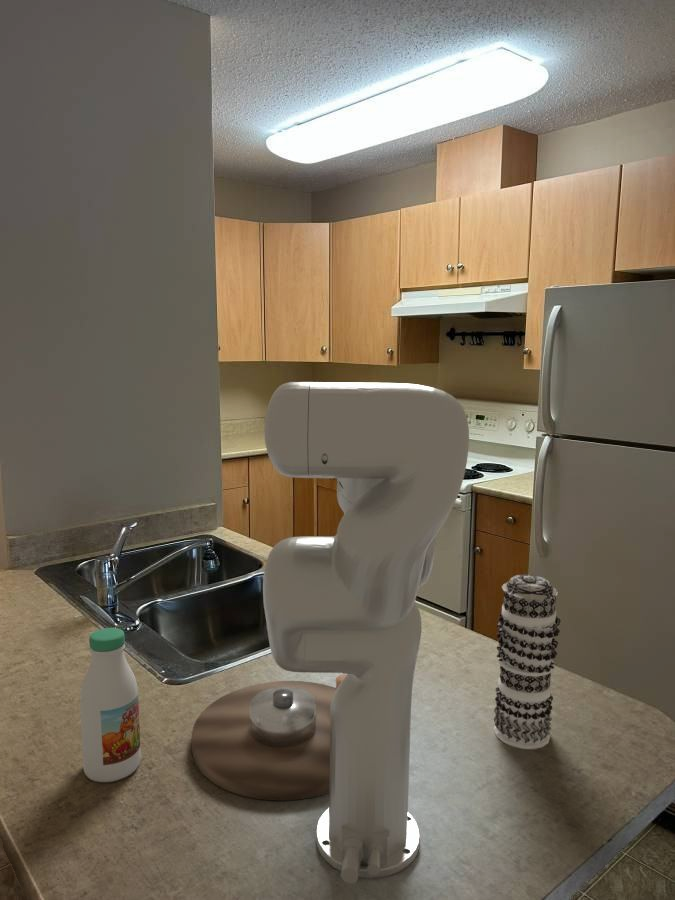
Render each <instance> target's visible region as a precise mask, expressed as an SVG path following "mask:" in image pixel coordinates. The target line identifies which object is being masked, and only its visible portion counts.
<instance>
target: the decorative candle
mask: <svg viewBox="0 0 675 900" xmlns="http://www.w3.org/2000/svg"><path fill="white" fill-rule="evenodd" d="M501 588H502V590H503V604H502V605H501V614H499V615H498V616H497V620H498V623H497V624H496V629H498V632H497V633H496V637H497V641H498V645H497V646H496V650H497V651H498V653H497V655H496V657H497V662H498V664H499V672H500V674H499V676H498V677H497V678H498V679H497V680H498V681H497V687H495V693H496V696H495V697H494V699H495V706H494V709H493V711H494V716H493V722H494V726H493V731H494V734H495V736H496V737H497V738H498V739H499V741H501V742H503V743H504V744H506V745H509V746H510V747H513V748H516V749H517V748H518V749H521V750H537V749H540V748H541V749H542V748H544V747H545V746H546V745H548V744H549V742H550V737H551V735H550V734H551V732H550V731H551V730H552V726H551V721H553V719H552V718H553V717H552V716H550V715H551V714H552V710H553V706H552V703H553V702H552V701H554V697H553V695H552V681H551V680H552V678H551V677H552V672H553V671H554V669H555V662H554V661H553V659H556V658H557V656H558V652H557V651H556V649H557V648H558V645H559V642H558V641H557V640H556V639H555V637H557V636H559V634H560V629H559V628H558V626H559V625H560V623H561V621H562V620H561V619H560V618H559V617H558V616H557V610H556V603H557V602H556V600H557V596H558V593H559V592H558V590H557V589H556V588H555V587H553V586H552V584H551V583H550V581H549V580H548V579H547V578H544V577H542V576H538V575H534V574H517V575H514V576H512V577H510V579H509V580H508V581H507V582H505V583H503V584H502V585H501Z"/></svg>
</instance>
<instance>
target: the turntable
mask: <svg viewBox="0 0 675 900" xmlns="http://www.w3.org/2000/svg"><path fill="white" fill-rule="evenodd" d="M346 675H347V674H342V675H341V674H340V675H339V676H336V678H335V679H336V680H335V686H332V685H327V684H324V683H317V682H312V681H302V680H301V681H300V680H279V681H278V680H277V681H269V682H261V683H257V684H253V685H249V686H245V687H243V688H239V689H236V690H234V691H231V692H229V693H227V694H224V695H223V696H220V697H219V698H218V699H216V700H215V701H213V702H211V704H209V705H208V706H207V707H205V708H204V710H203V711H201V713H200V714H199V716H198V717H197V718H196V720H195V722H194V724H193V726H192V731H191V753H192V757H193V761H194V763H195V766H196V767H197V768H198V770H199V771H200V772H201V774H202V775H203V776H204V778H206V779H207V780H209V781H210V782H211V783H213V784H214V785H216V786H217V787H220V788H222V789H224V790H226V791H227V792H229V793H233V794H236V795H239V796H243V797H248V798H251V799H257V800H266V801H294V800H302V799H309V798H313V797H318V796H321V795H325V794H328V793H329V779H330V708H331V702H332V699H333V696H334V694H335V691H336V690H337V688H338V686H339V685H340V683H341V682H342V680H343V679H344V678H345V676H346ZM276 687H294V688H299V689H302V690H305V691H307V692H309V693H310V694H312V695H313V696H314V698H315V699H316V732H315V734H314V735H313V737H312V738H310V739H309V740H308V741H306V742H304V743H302V744H300V745H297V746H293V747H286V748H276V747H270V746H266V745H263V744H260V743H259V742H257V741H256V740H254V739H253V737H252V736H251V734H250V701H251V700H252V698H253V697H254V696H255V695H257V694H258V693H260V692H262V691H264V690H267V689H271V688H276Z"/></svg>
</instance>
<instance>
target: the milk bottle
mask: <svg viewBox="0 0 675 900" xmlns="http://www.w3.org/2000/svg"><path fill="white" fill-rule="evenodd" d="M125 639H126V637H125V632H124V630H123V629H121V628H118V627H106V628H101V629H97V630H95V631H93V632H92V633H91V634H90V635H89V639H88V640H89V641H88V643H89V647H90V648H89V652H90V653H91V657H90V658H91V659H90V664H89V666H88V668H87V671H86V674H85V675H84V678H83V681H82V684H81V690H80V729H81V747H82V748H81V749H82V766H83V772H84V774H85V776H86V777H87V778H88V779H90V780H91V781H93V782H96V783H97V782H98V783H113V782H116V781H119V780H123V779H125V778H128V776H131V775H132V774H133V773H135V772H136V770H137V769H138V767H139V765H140V763H141V757H142V756H141V751H142V750H141V727H140V726H141V725H140V704H139V702H140V701H139V691H138V688H139V687H138V683H137V679H136V677H135V674H134V672H133V670H132V668H131V666H130V665H129V663H128V661H127V659H126V656H125V652H124V649H125V647H126V644H125V642H126V640H125Z"/></svg>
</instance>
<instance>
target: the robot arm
mask: <svg viewBox="0 0 675 900" xmlns="http://www.w3.org/2000/svg"><path fill="white" fill-rule="evenodd" d="M264 441H265V448H266V452H267V455H268V458H269V461H270V463H271V465H272V466H273V468H274V470H276V472H278V474H280V475H282V476H283V477H287V478H295V479H297V478H299V479H302V478H303V479H336V482H337V483H336V499H337V503H338V505H339V507H340V509H341V511H342V512H343V516H342V517H341V519H340V521H339V523H338V525H337V530H336V534H335V535H334V536H326V535H325V536H323V535H322V536H317V535H316V536H314V535H313V536H310V535H309V536H308V535H307V536H306V535H304V536H292V537H288V538H284V539H282V540H280V541H279V542H277V543H276V544H275V545H274V546H273V547H272V549H271V550H270V552H269V554H268V555H267V558H266V562H265V567H264V570H263V579H262V582H263V583H262V596H263V608H264V615H265V620H266V629H267V630H266V631H267V637H268V643H269V648H270V653H271V655H272V658H273V660H274V662H275V663H276V665H278V667H279V668H280V669H282V670H284V671H287V672H290V673H291V672H292V673H316V674H317V673H319V674H321V673H325V674H326V673H330V674H331V673H333V674H336V673H337V674H342V675H346V676H345V678H344V679H343V680H342V682H341V683H340V685H339V686H338V688H337V690H336V691H335V694H334V696H333V699H332V702H331V708H330V779H329V792H328V793H329V796H328V797H329V798H328V801H329V802H328V804H329V805H328V808H327V809H325V811H324V812H323V813H322V814H321V816H320V817H319V819H318V821H317V823H316V828H315V840H316V846H317V849H318V851H319V854H320V855H321V856H322V857H323V859H324V860H325V861H326V862H327V863H328V864H329V865H330V866H332V867H333V868H334V869H336V870H338V871H340V877H341V880H342V881H343V882H345V883H346V884H349V885H350V884H355V883H356V882H357V881H359V880H358V879H359V878H367V879H376V878H384V877H389V876H391V875H394V874H396V873H399V872H401V871H403V870H404V869H406V868H408V866H409V865H410V864H411V863H412V862H413V861H414V860H415V859H416V856H417V855H418V854H419V849H420V845H421V834H420V828H419V825H418V822H417V821H416V820H415V818H414V817H413V815H412V814H411V813H409V786H410V785H409V784H410V753H411V752H410V750H411V720H412V700H413V699H412V696H413V688H414V687H413V686H414V685H413V684H414V677H415V670H416V664H417V659H418V654H419V649H420V644H421V638H422V637H421V636H422V616H421V612H420V609H419V606H418V604H417V603H416V599H417V596H418V591H419V588H420V587H421V586H423V585H424V584H426V583H427V581H428V580H429V577H430V575H431V573H432V570H433V564H434V561H435V556H436V551H437V534H438V533H439V531H440V530H441V529H442V527H443V525H444V524H445V523H446V521H447V519H448V517H449V516H450V514H451V512H452V510H453V508H454V506H455V503H456V501H457V498H458V497H459V494H460V491H461V488H462V485H463V482H464V478H465V475H466V474H465V473H466V468H467V464H468V456H469V449H470V448H469V447H470V446H469V445H470V427H469V422H468V417H467V414H466V411H465V408H464V407H463V405H462V404H461V403H460V401H459V400H457V398H455V396H453V395H452V394H450V393H448V392H446V391H445V390H442V389H438V388H435V387H431V386H427V385H421V384H415V383H404V382H403V383H402V382H401V383H399V382H398V383H397V382H335V381H334V382H332V381H330V382H329V381H327V382H326V381H325V382H323V381H320V382H319V381H315V382H314V381H290V382H286V383H283V384H280V385H279V386H278V387H277V388H276V389H275V390H274V392H273V393H272V396H271V397H270V399H269V402H268V405H267V408H266V412H265V419H264Z"/></svg>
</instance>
